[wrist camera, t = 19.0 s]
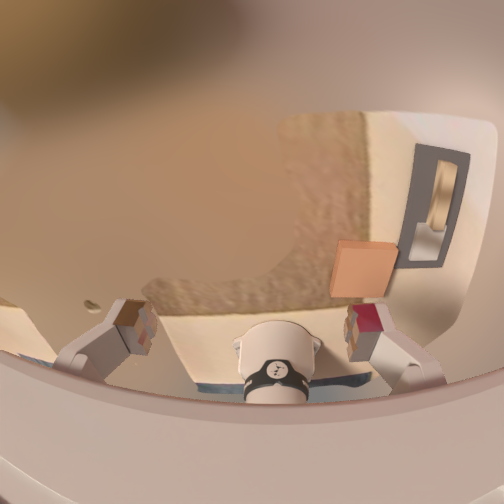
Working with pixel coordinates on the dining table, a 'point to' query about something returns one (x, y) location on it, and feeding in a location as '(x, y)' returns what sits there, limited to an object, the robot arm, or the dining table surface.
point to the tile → (362, 268)
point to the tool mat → (422, 197)
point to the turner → (435, 215)
